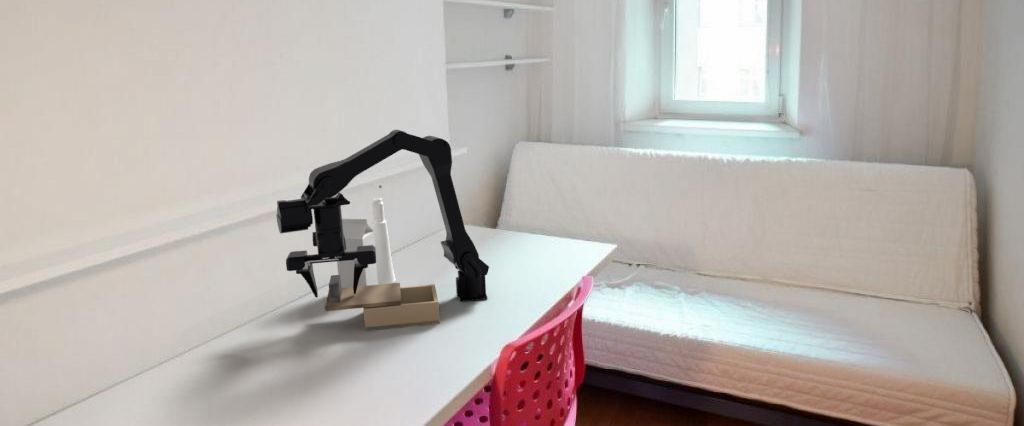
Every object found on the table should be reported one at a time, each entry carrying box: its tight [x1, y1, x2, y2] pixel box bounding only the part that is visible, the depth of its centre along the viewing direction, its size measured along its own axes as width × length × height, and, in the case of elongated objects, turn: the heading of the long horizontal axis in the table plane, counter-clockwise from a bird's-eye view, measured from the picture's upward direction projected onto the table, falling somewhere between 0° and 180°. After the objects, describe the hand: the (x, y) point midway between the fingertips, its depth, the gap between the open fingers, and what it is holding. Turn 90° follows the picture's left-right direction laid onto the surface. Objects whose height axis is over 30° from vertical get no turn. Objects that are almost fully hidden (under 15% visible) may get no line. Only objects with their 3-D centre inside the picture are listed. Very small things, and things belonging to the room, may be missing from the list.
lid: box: [324, 274, 401, 312], centre depth 159 cm, size 16×12×5 cm
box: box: [362, 283, 441, 332], centre depth 161 cm, size 16×12×5 cm
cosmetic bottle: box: [371, 197, 397, 285], centre depth 184 cm, size 6×6×22 cm
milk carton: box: [336, 218, 378, 288], centre depth 176 cm, size 7×7×19 cm
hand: (335, 295), depth 158 cm, fingers open, 8 cm apart
